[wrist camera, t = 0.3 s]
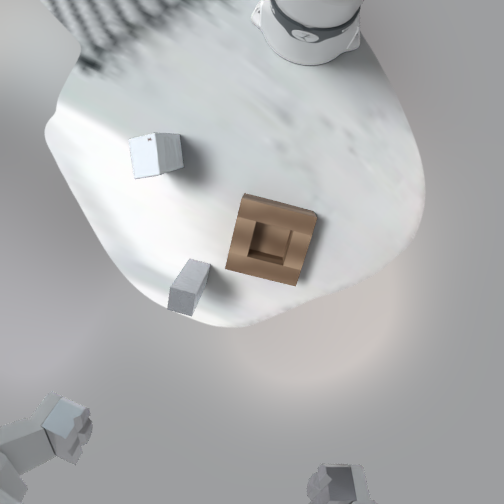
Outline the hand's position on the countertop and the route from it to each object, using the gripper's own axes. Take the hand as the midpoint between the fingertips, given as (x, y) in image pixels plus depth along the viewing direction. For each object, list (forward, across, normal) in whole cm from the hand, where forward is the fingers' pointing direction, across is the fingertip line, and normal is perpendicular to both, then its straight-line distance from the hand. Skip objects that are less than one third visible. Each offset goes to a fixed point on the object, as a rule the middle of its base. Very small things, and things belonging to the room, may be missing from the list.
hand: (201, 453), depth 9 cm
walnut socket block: (+46, -3, +5) cm, 47 cm away
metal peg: (+47, +8, +15) cm, 50 cm away
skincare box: (+47, +17, -5) cm, 50 cm away
